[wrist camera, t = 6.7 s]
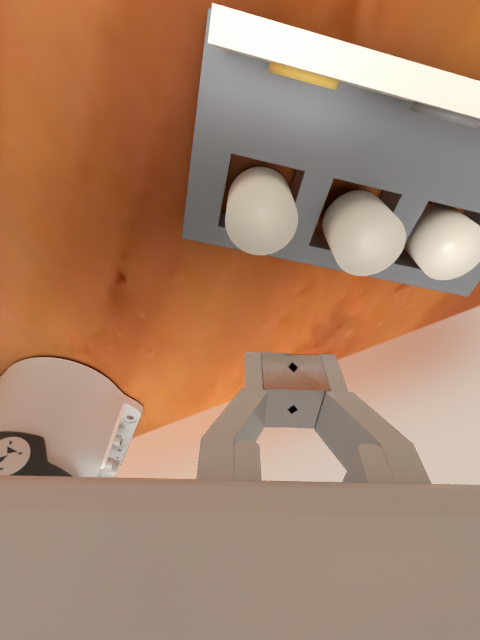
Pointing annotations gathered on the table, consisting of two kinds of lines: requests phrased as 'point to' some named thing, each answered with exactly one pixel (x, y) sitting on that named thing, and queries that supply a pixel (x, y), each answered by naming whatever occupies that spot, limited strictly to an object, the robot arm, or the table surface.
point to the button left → (260, 211)
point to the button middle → (363, 233)
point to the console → (331, 133)
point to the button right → (444, 242)
